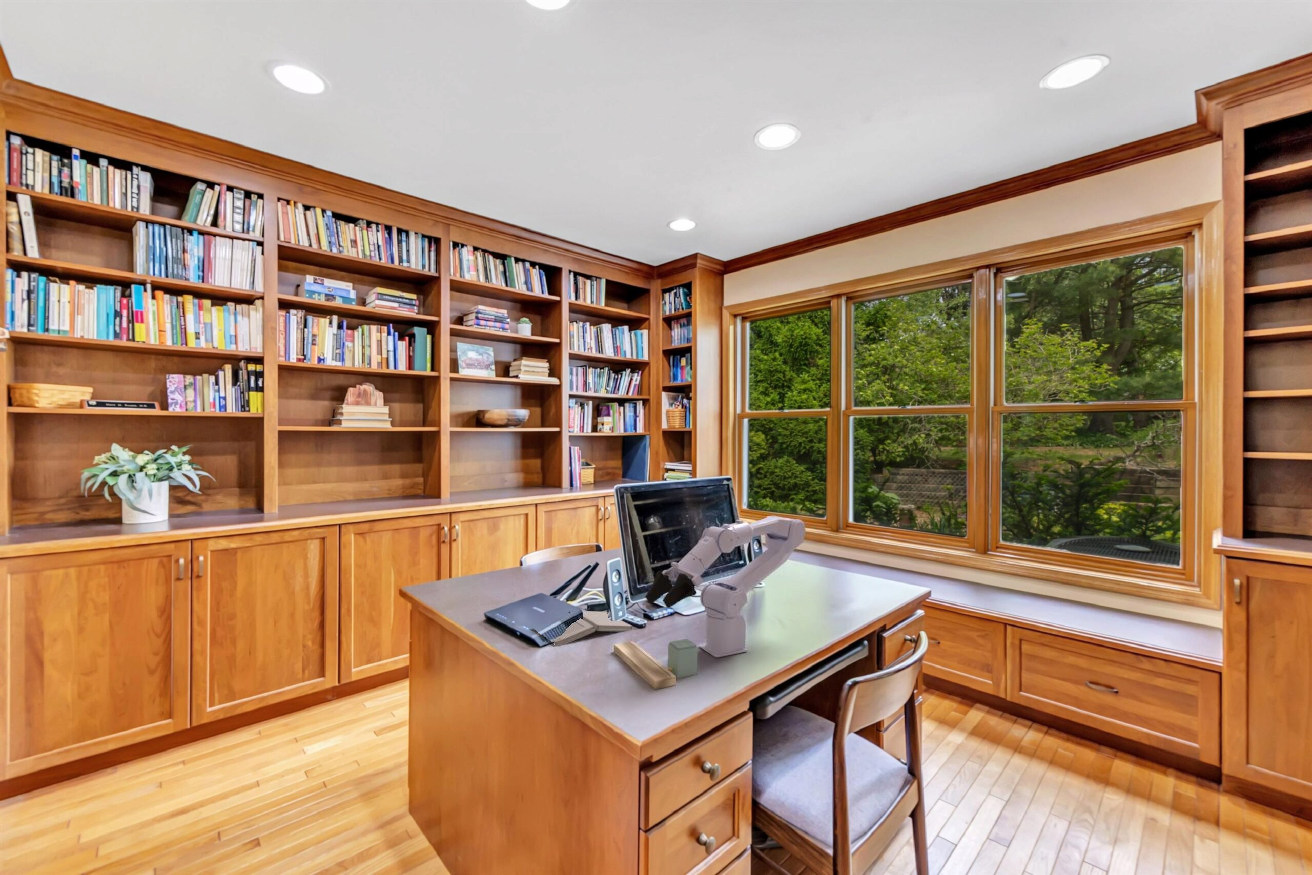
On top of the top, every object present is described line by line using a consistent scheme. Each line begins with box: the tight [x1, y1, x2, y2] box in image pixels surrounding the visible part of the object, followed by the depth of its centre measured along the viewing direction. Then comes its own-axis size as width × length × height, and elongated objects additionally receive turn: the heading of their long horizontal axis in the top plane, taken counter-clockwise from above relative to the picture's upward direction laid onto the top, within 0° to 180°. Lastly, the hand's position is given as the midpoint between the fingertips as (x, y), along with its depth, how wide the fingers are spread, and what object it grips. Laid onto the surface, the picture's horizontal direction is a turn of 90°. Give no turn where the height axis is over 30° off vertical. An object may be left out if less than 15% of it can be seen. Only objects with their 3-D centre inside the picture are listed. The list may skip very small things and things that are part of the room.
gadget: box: [553, 610, 633, 647], centre depth 150 cm, size 23×15×4 cm, turn 125°
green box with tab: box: [666, 638, 699, 679], centre depth 124 cm, size 6×4×6 cm
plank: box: [613, 640, 677, 690], centre depth 126 cm, size 5×22×2 cm, turn 27°
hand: (656, 602), depth 125 cm, fingers open, 7 cm apart
